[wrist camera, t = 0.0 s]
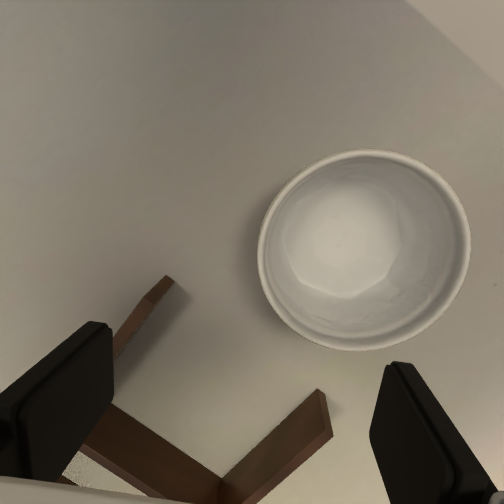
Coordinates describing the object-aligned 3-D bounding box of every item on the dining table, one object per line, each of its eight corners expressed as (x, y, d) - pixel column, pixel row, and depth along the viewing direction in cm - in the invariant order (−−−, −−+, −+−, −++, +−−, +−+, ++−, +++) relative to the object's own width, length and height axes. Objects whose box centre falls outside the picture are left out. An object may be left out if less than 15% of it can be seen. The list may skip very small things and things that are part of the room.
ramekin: (248, 170, 26) (237, 172, 19) (418, 136, 24) (472, 125, 17) (275, 317, 29) (275, 363, 22) (427, 296, 27) (475, 339, 21)
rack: (166, 274, 29) (143, 296, 24) (325, 394, 31) (334, 436, 26) (26, 459, 36) (-13, 505, 31) (161, 546, 38) (144, 601, 33)
